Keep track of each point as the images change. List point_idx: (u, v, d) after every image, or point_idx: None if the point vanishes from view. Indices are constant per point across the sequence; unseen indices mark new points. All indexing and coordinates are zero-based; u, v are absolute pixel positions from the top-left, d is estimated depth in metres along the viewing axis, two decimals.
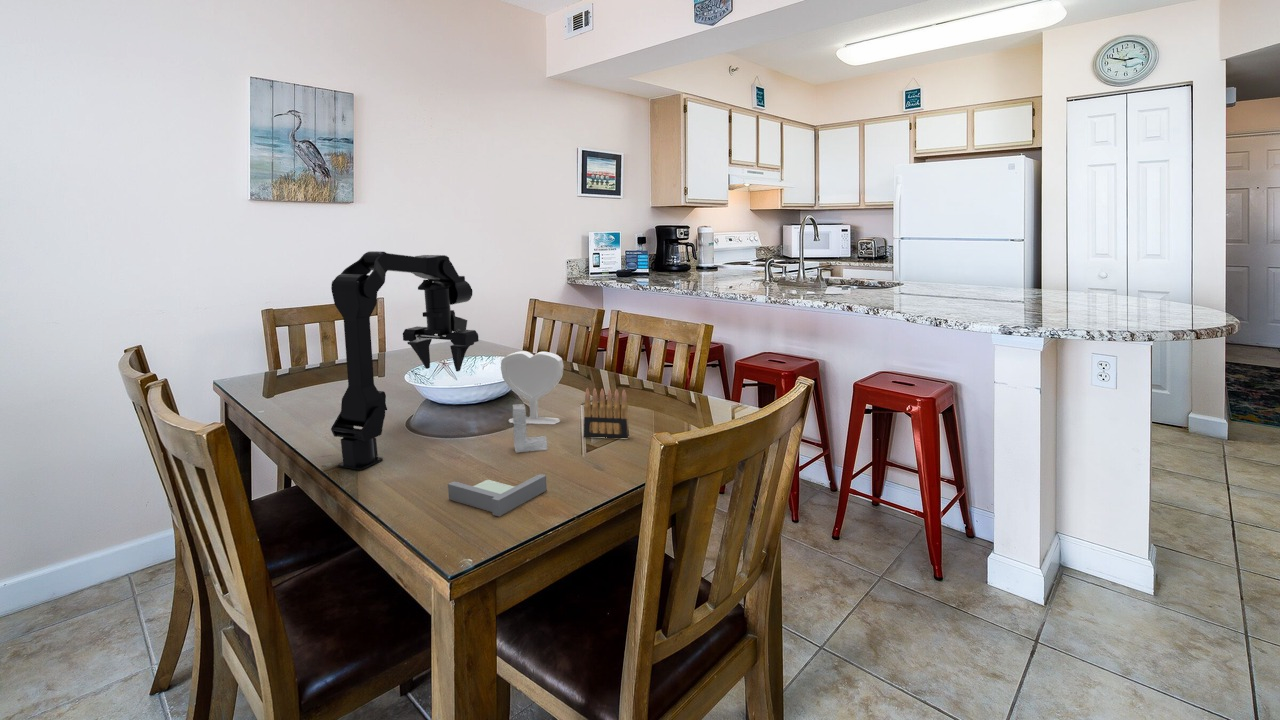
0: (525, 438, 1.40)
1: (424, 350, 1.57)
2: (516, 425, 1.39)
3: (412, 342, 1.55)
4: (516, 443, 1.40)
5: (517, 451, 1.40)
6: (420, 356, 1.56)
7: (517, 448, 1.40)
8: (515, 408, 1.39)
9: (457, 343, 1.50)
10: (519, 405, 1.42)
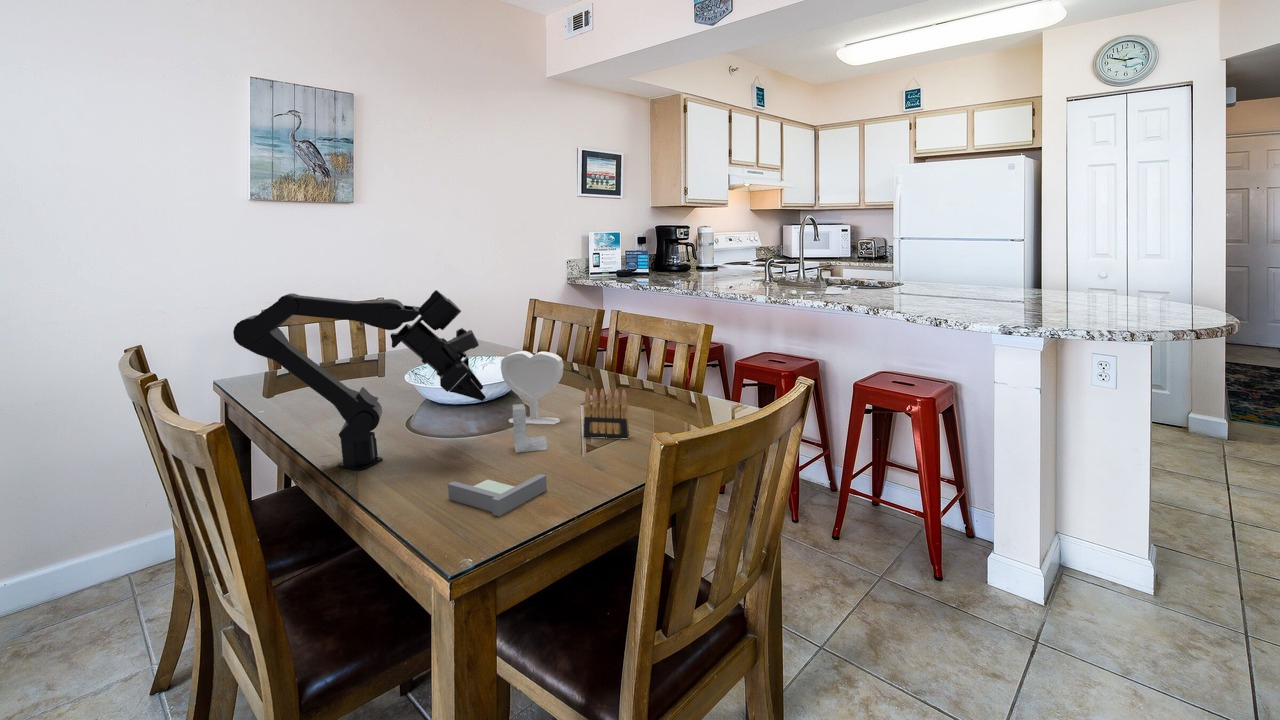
0: (525, 438, 1.40)
1: None
2: (516, 425, 1.39)
3: None
4: (516, 443, 1.40)
5: (517, 451, 1.40)
6: None
7: (517, 448, 1.40)
8: (515, 408, 1.39)
9: None
10: (519, 405, 1.42)
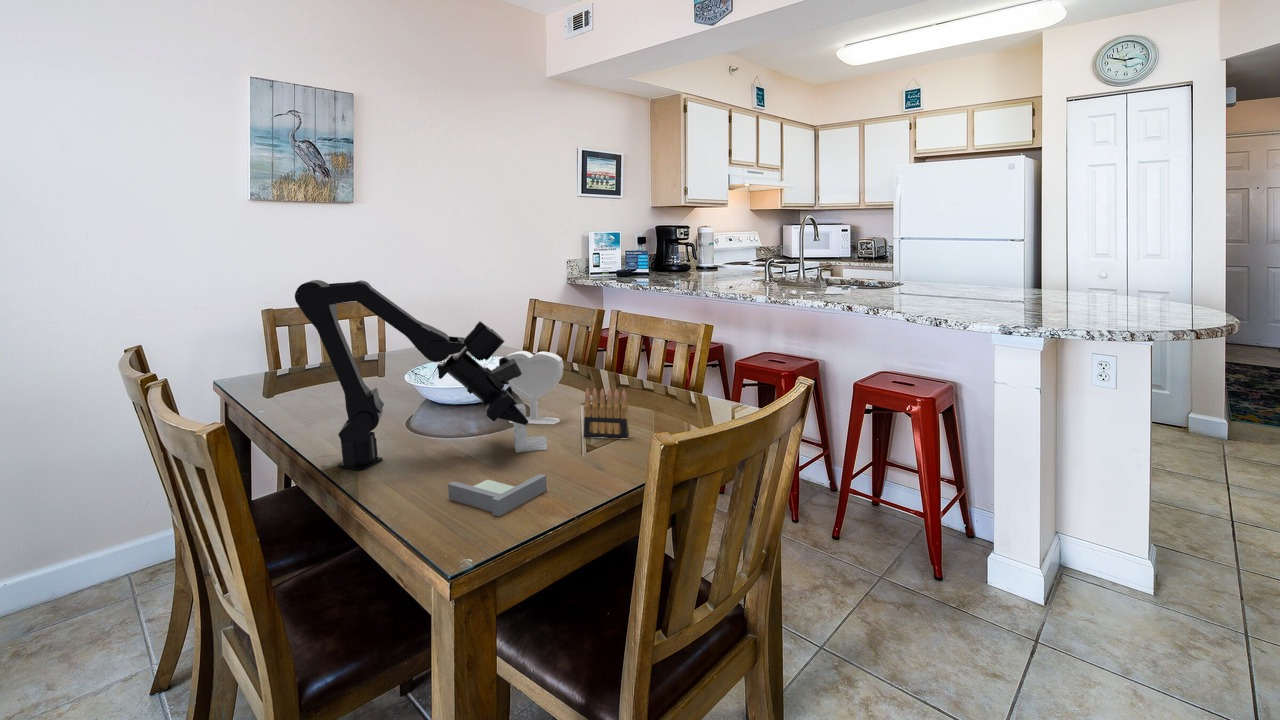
0: (525, 438, 1.40)
1: None
2: (516, 425, 1.39)
3: None
4: (516, 443, 1.40)
5: (517, 451, 1.40)
6: None
7: (517, 448, 1.40)
8: None
9: None
10: (519, 405, 1.42)
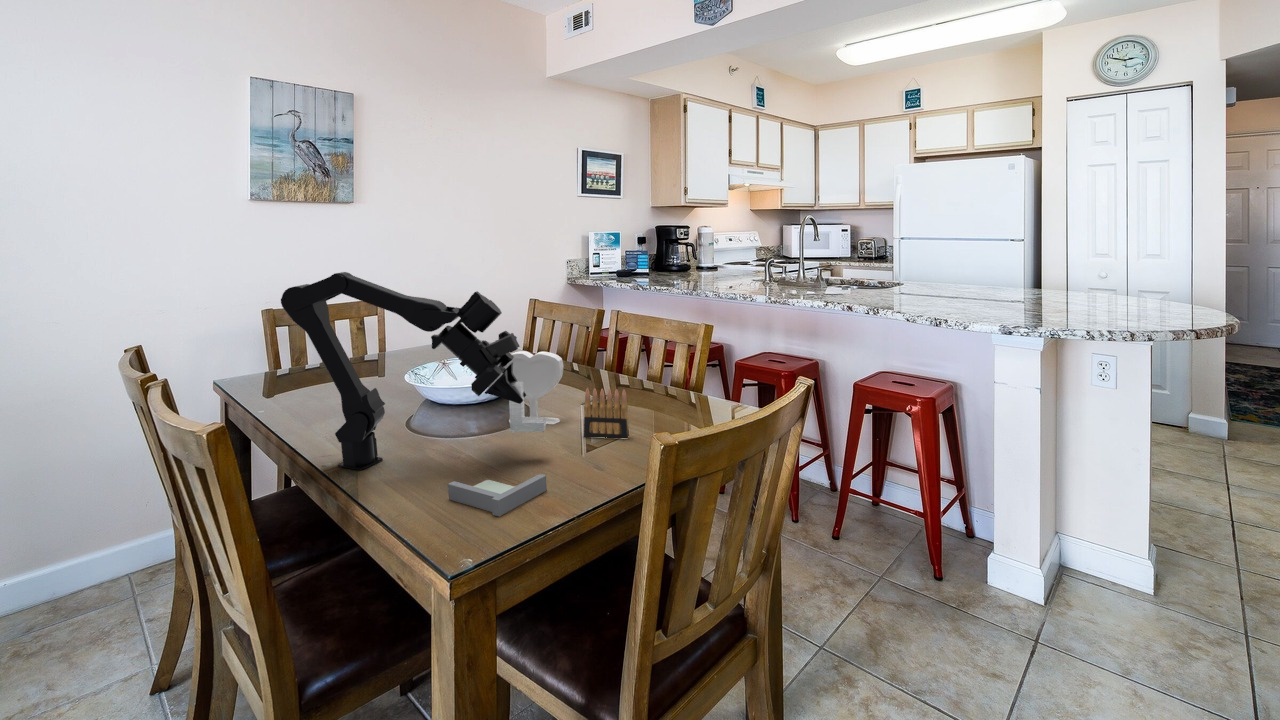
0: (520, 417, 1.32)
1: None
2: (511, 403, 1.31)
3: None
4: (511, 422, 1.32)
5: (512, 431, 1.33)
6: None
7: (512, 427, 1.33)
8: None
9: None
10: (518, 382, 1.34)
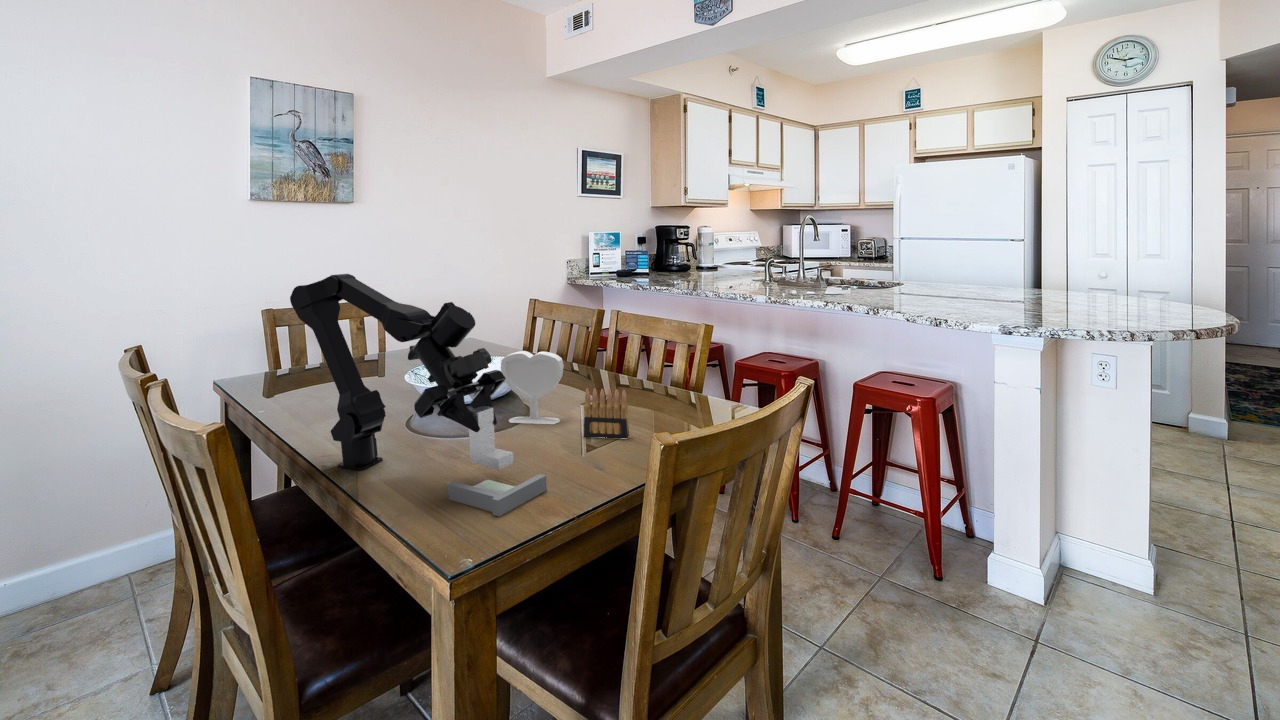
0: (478, 448, 1.16)
1: None
2: (470, 430, 1.17)
3: None
4: (470, 451, 1.18)
5: (471, 461, 1.18)
6: None
7: (471, 457, 1.18)
8: (472, 410, 1.16)
9: None
10: (486, 407, 1.18)
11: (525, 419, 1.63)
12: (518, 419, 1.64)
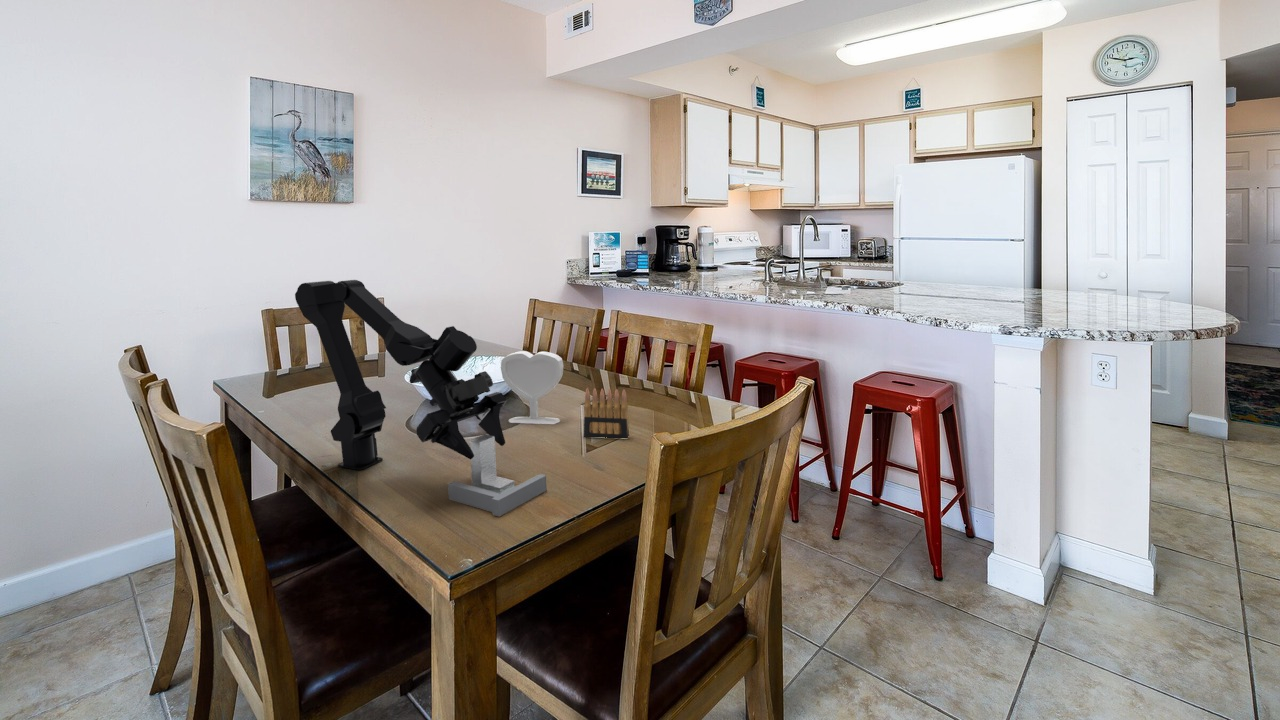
0: (480, 477, 1.17)
1: (489, 426, 1.23)
2: (472, 459, 1.18)
3: None
4: (472, 480, 1.19)
5: None
6: None
7: (473, 486, 1.19)
8: (473, 439, 1.18)
9: None
10: (487, 436, 1.19)
11: (525, 419, 1.63)
12: (518, 419, 1.64)
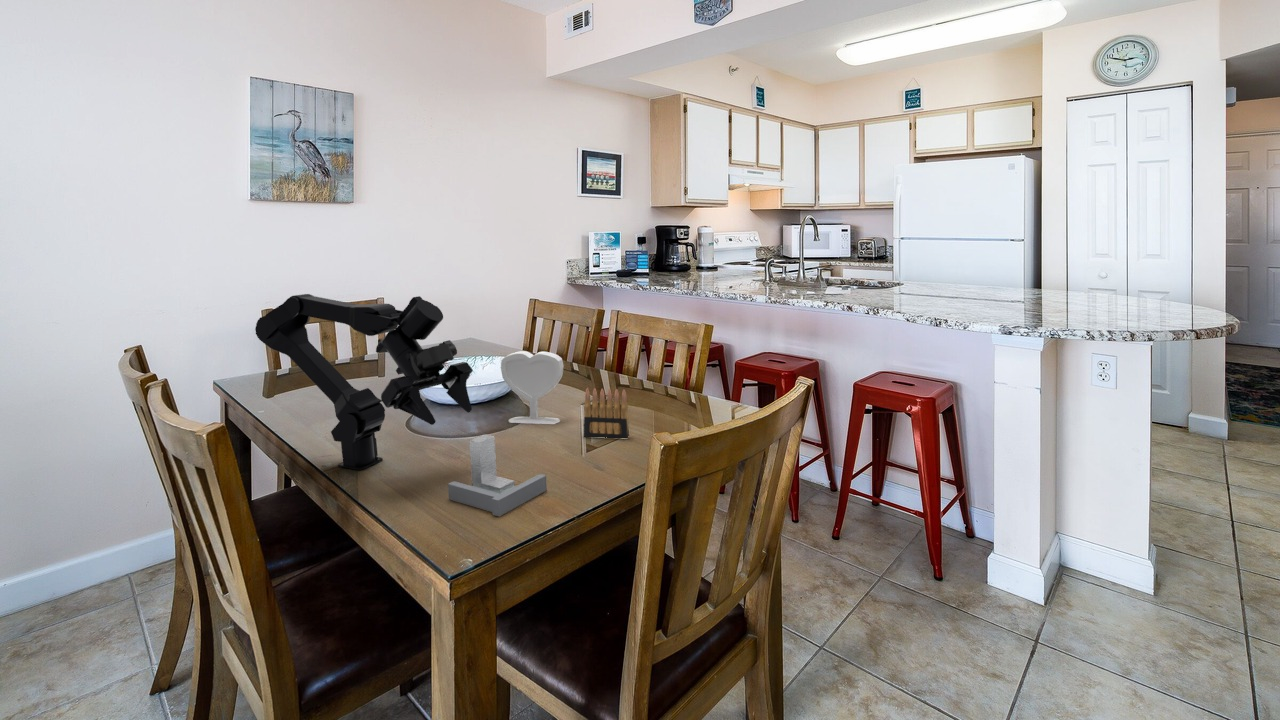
0: (480, 477, 1.17)
1: (457, 394, 1.27)
2: (472, 459, 1.18)
3: None
4: (472, 480, 1.19)
5: None
6: None
7: (473, 486, 1.19)
8: (473, 439, 1.18)
9: None
10: (487, 436, 1.19)
11: (525, 419, 1.63)
12: (518, 419, 1.64)
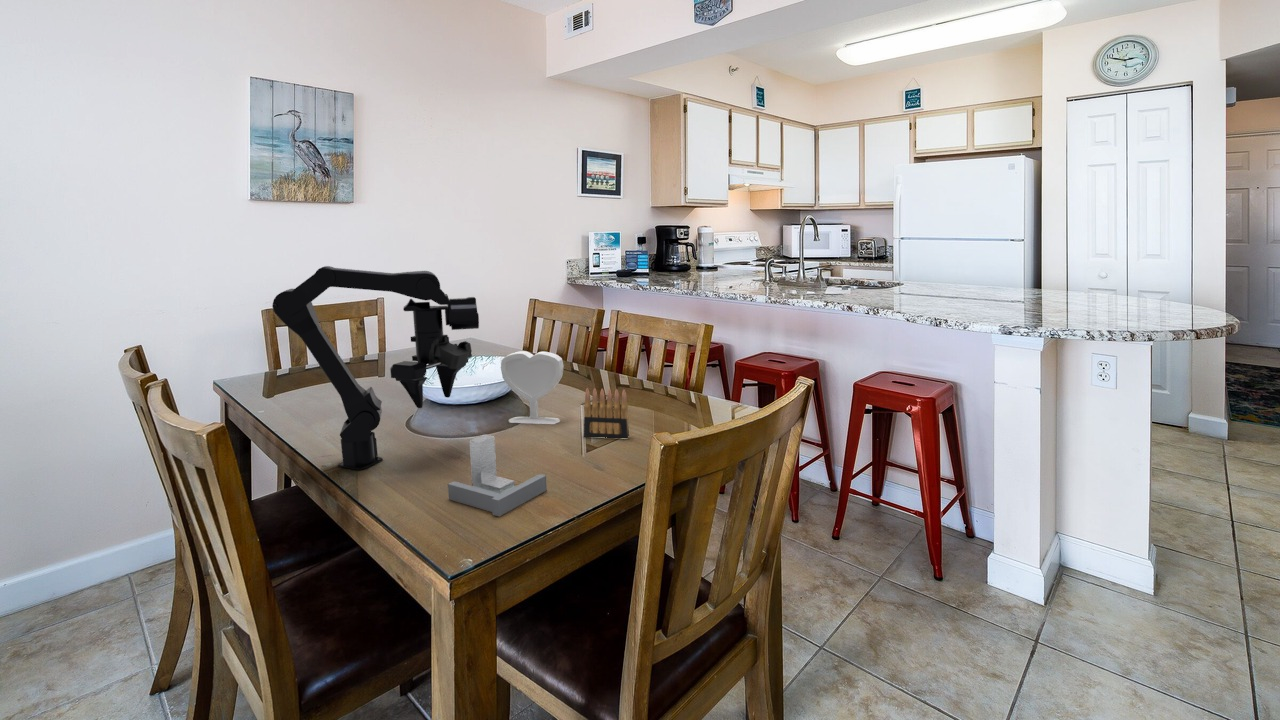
0: (480, 477, 1.17)
1: (445, 376, 1.40)
2: (472, 459, 1.18)
3: None
4: (472, 480, 1.19)
5: None
6: None
7: (473, 486, 1.19)
8: (473, 439, 1.18)
9: None
10: (487, 436, 1.19)
11: (525, 419, 1.63)
12: (518, 419, 1.64)
